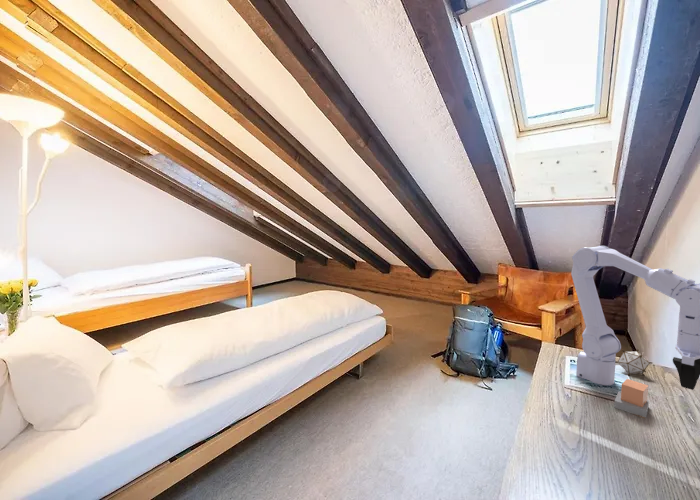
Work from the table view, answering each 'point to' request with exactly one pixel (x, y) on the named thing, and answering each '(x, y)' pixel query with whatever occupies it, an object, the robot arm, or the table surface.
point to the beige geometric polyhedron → (633, 362)
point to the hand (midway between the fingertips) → (689, 382)
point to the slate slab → (630, 406)
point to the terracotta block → (634, 392)
